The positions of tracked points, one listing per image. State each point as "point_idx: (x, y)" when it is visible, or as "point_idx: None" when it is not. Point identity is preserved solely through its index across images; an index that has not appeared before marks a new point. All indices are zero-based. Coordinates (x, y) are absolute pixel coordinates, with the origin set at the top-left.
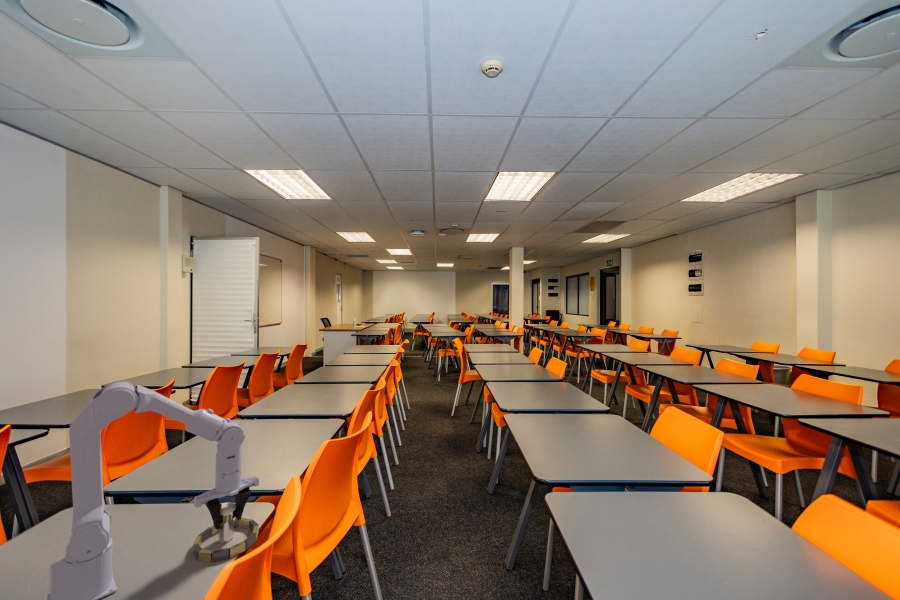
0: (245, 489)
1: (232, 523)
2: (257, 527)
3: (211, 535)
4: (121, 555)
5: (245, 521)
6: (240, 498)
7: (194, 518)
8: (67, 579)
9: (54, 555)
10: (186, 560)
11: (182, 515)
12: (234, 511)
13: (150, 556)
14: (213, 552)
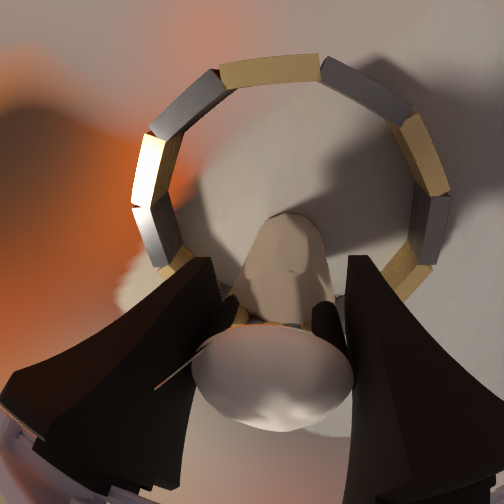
0: (58, 458)
1: (250, 264)
2: (136, 182)
3: None
4: (488, 355)
5: None
6: (108, 414)
7: None
8: None
9: (500, 395)
10: (455, 214)
11: (335, 412)
12: (215, 327)
13: (479, 317)
14: (405, 110)
